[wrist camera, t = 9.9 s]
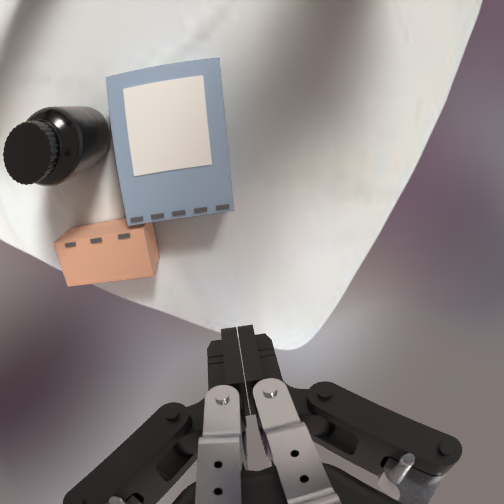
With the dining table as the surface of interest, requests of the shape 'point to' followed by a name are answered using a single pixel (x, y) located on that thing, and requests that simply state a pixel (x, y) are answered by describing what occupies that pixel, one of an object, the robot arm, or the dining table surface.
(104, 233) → the tan rectangular block
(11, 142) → the supplement bottle
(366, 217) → the dining table surface
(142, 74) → the block
